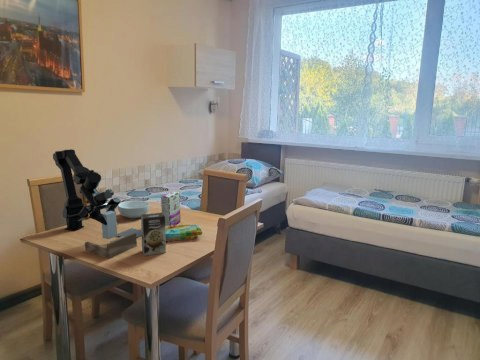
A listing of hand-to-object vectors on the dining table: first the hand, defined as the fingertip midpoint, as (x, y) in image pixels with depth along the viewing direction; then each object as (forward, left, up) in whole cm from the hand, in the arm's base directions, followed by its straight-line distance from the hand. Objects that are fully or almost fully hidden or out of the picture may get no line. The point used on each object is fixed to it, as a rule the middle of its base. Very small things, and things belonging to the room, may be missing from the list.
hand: (111, 222), depth 154 cm
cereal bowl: (-14, +40, -11) cm, 44 cm away
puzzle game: (+23, +19, -11) cm, 32 cm away
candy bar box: (+12, +33, -10) cm, 37 cm away
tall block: (-1, 0, -7) cm, 7 cm away
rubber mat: (+1, +14, -10) cm, 18 cm away
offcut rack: (+2, -4, -10) cm, 11 cm away
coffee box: (+21, -1, -10) cm, 23 cm away
